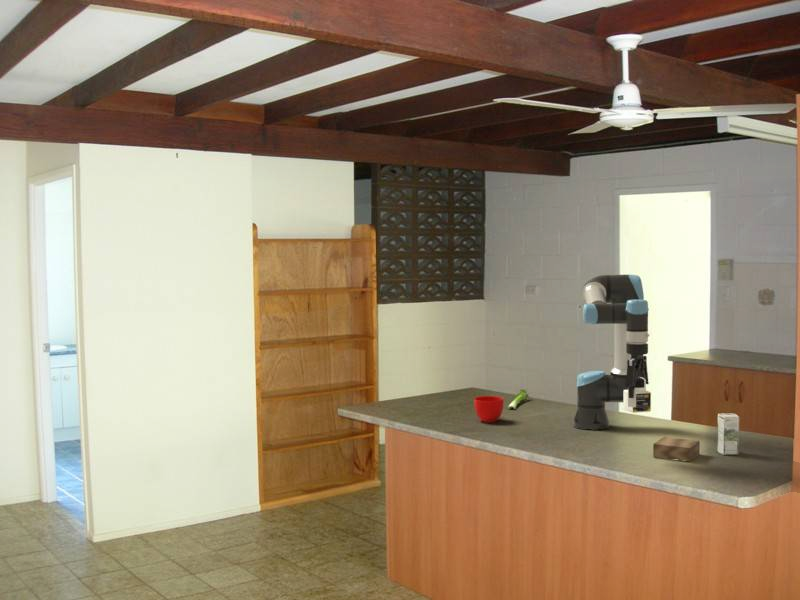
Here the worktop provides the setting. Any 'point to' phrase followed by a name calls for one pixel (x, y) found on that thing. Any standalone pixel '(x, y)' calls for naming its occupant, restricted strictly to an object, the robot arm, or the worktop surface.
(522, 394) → the leek
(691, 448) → the walnut base
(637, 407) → the medicine bottle
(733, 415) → the syrup box
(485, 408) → the ceramic cup
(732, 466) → the worktop surface
